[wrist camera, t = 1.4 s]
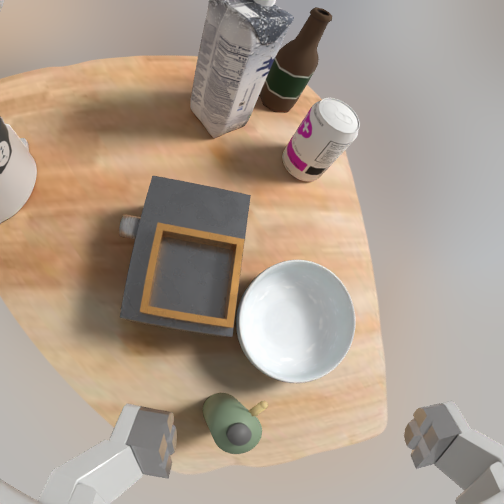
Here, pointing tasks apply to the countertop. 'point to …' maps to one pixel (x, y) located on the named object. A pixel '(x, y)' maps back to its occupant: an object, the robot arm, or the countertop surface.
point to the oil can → (233, 423)
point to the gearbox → (185, 257)
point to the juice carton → (235, 60)
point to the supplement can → (320, 139)
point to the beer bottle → (294, 64)
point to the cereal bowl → (295, 321)
